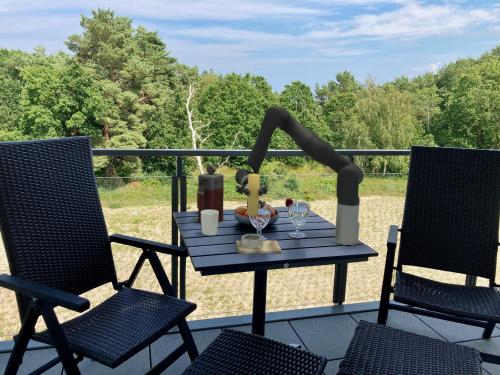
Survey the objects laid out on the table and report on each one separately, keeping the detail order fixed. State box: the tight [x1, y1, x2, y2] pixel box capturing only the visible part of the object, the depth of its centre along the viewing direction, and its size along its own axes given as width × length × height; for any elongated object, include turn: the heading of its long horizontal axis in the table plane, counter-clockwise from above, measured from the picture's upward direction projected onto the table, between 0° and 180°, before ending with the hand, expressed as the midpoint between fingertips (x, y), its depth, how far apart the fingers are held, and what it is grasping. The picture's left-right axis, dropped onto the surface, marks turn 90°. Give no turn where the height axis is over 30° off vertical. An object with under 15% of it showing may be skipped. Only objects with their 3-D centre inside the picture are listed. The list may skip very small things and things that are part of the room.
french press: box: [196, 164, 225, 224], centre depth 210 cm, size 9×11×28 cm
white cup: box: [200, 210, 219, 236], centre depth 193 cm, size 8×8×10 cm
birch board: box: [235, 239, 283, 255], centre depth 177 cm, size 17×13×1 cm
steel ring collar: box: [240, 233, 264, 249], centre depth 176 cm, size 9×9×4 cm
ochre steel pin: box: [246, 174, 261, 217], centre depth 172 cm, size 4×4×16 cm
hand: (254, 193), depth 169 cm, fingers closed on ochre steel pin, 4 cm apart
